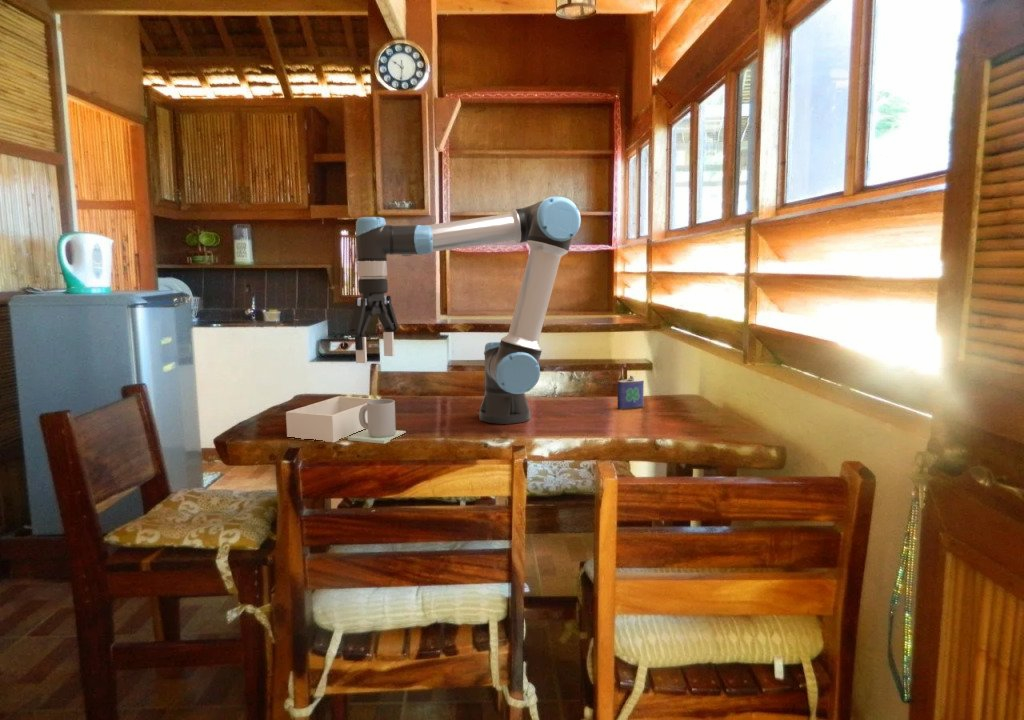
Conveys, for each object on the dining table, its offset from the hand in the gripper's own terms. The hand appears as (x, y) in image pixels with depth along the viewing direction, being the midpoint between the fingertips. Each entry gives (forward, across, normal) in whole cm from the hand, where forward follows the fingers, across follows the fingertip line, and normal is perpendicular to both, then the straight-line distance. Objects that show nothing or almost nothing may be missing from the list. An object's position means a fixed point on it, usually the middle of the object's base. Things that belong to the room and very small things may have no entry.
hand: (375, 359), depth 180 cm
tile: (+21, 0, 0) cm, 21 cm away
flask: (+22, -58, +57) cm, 84 cm away
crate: (+21, -3, -15) cm, 26 cm away
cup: (+20, +1, 0) cm, 20 cm away
